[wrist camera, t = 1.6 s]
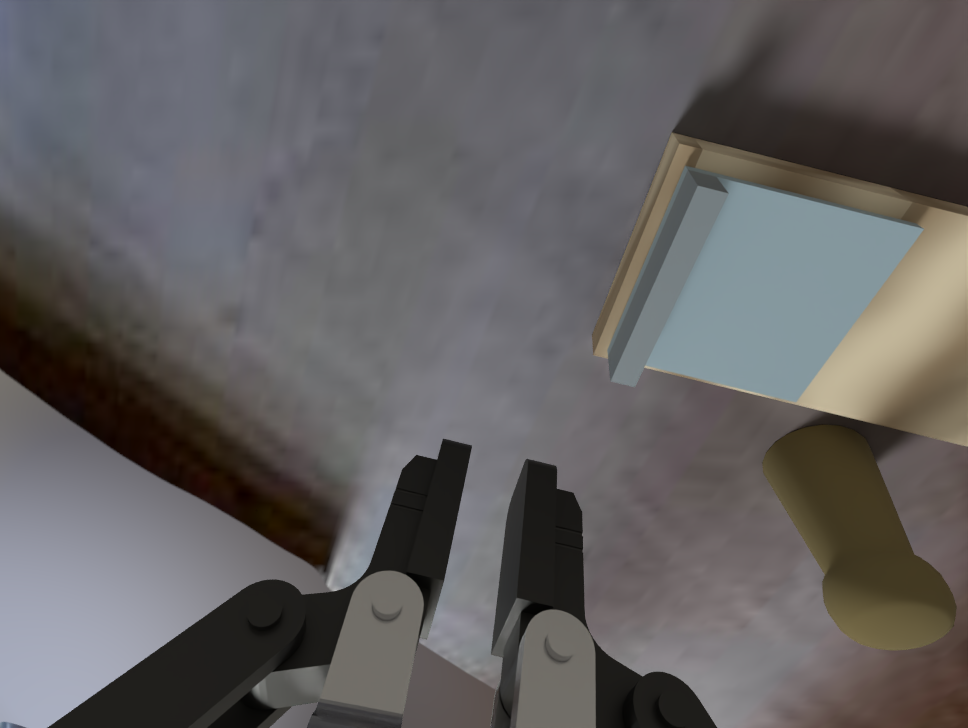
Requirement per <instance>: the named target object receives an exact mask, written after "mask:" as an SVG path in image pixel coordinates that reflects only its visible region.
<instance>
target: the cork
mask: <svg viewBox="0 0 968 728" xmlns="http://www.w3.org/2000/svg"><path fill="white" fill-rule="evenodd" d="M762 464H763V473H764V475H765V476H766V478H767V480H768V481H769V483H770V485H771V486H772V488H773V490H774V491H775V493H776V495H777V496H778V498H779V500H780V501H781V503H782V505H783V506H784V508H785V510H786V511H787V513H788V515H789V516H790V518H791V519H792V521H793V523H794V524H795V526H796V528H797V529H798V531H799V533H800V534H801V536H802V538H803V539H804V541H805V543H806V544H807V546H808V548H809V549H810V551H811V553H812V554H813V556H814V558H815V559H816V561H817V563H818V564H819V566H820V567H821V569H822V571H823V572H824V574H825V576H824V579H823V581H822V585H823V598H824V603H825V606H826V608H827V611H828V613H829V615H830V616H831V617H832V619H833V620H834V622H835V623H836V624H837V626H838V627H839V629H840V630H841V631H842V632H843V633H845V634H846V635H847V636H848V637H850V638H851V639H852V640H854V641H856V642H857V643H859V644H862V645H865V646H869V647H872V648H876V649H884V650H907V649H913V648H918V647H922V646H925V645H928V644H931V643H933V642H935V641H936V640H938V639H940V638H941V637H943V636H944V635H946V634H947V633H948V632H949V631H950V629H951V628H952V627H953V626H954V621H955V616H956V604H955V600H954V597H953V594H952V592H951V590H950V588H949V587H948V585H947V583H946V582H945V580H944V579H943V577H942V576H941V574H940V573H939V572H938V571H937V570H936V569H934V568H933V567H932V566H931V565H930V564H929V563H927V562H926V561H925V560H923V559H922V558H920V557H918V556H916V555H914V553H913V550H912V548H911V545H910V543H909V540H908V538H907V536H906V533H905V531H904V528H903V526H902V524H901V521H900V519H899V516H898V514H897V511H896V509H895V507H894V504H893V502H892V499H891V497H890V495H889V492H888V490H887V487H886V485H885V483H884V480H883V478H882V475H881V473H880V470H879V468H878V466H877V463H876V461H875V458H874V456H873V454H872V451H871V449H870V447H869V445H868V443H867V441H866V439H865V438H864V437H863V436H862V435H860V434H859V433H858V432H856V431H855V430H852V429H849V428H846V427H843V426H839V425H817V426H810V427H805V428H802V429H799V430H797V431H794V432H791V433H789V434H787V435H785V436H784V437H782V438H781V439H779V440H778V441H776V442H775V443H774V444H773V445H772V446H771V448H770V449H769V450H768V451H767V452H766V455H765V457H764V460H763V463H762Z"/></svg>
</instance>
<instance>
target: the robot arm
mask: <svg viewBox="0 0 968 728" xmlns="http://www.w3.org/2000/svg"><path fill="white" fill-rule="evenodd" d="M471 448H472V445H467V444H463V443H459V442H455V441H451V440H447V439H443V441H442V445H441V448H440V452H439V456H438V459H437V460H435V459H431V458H427V457H423V456H419V455H416V456H415V457H414V458H413V459H412V460H411V461H410V462H409V463H408V464H407V465H406V466H405V467H404V468H403V469H402V472H401V475H400V478H399V481H398V484H397V487H396V490H395V493H394V496H393V498H392V501H391V505H390V507H389V510H388V513H387V516H386V519H385V522H384V525H383V528H382V531H381V534H380V537H379V540H378V543H377V545H376V548H375V551H374V554H373V557H372V560H371V563H370V565H369V567H368V569H367V570H366V572H365V573H364V574H363V576H362V577H361V578H360V579H358V580H357V581H356V582H355V583H353V584H352V585H350V586H348V587H346V588H344V589H341V590H338V591H333V592H328V593H327V592H326V593H317V594H306V595H302V594H301V593H300V591H299V590H298V589H297V588H296V587H295V586H293V585H291V584H290V583H287V582H285V581H281V580H264V581H260V582H256V583H254V584H252V585H249V586H248V587H246V588H244V589H243V590H241V591H240V592H239V593H237V594H236V595H234V596H233V597H232V598H230V599H229V600H227V601H226V602H224V603H223V604H222V605H220V606H219V607H217V608H216V609H215V610H213V611H212V612H210V613H209V614H208V615H206V616H205V617H203V618H202V619H201V620H199V621H198V622H196V623H195V624H193V625H192V626H191V627H189V628H188V629H186V630H185V631H184V632H182V633H181V634H179V635H178V636H176V637H175V638H174V639H172V640H171V641H169V642H168V643H167V644H165V645H164V646H162V647H161V648H159V649H158V650H157V651H155V652H154V653H152V654H151V655H150V656H148V657H147V658H145V659H144V660H143V661H141V662H140V663H138V664H137V665H135V666H134V667H133V668H131V669H130V670H128V671H127V672H126V673H124V674H123V675H122V676H120V677H119V678H117V679H116V680H114V681H113V682H111V683H110V684H109V685H107V686H106V687H105V688H103V689H102V690H100V691H99V692H97V693H96V694H95V695H93V696H92V697H90V698H89V699H88V700H86V701H85V702H83V703H82V704H80V705H79V706H78V707H76V708H75V709H73V710H72V711H71V712H69V713H68V714H66V715H65V716H64V717H62V718H61V719H59V720H58V721H56V722H55V723H54V724H52V725H51V726H49V727H48V728H269V727H270V726H271V725H273V724H274V723H275V722H276V721H277V720H278V719H279V718H280V717H281V716H282V715H283V714H284V713H285V712H286V711H287V710H289V709H290V708H291V707H292V706H296V705H302V704H308V703H315V702H318V705H317V708H316V710H315V712H314V713H313V714H312V716H311V718H310V721H309V723H308V726H307V728H401V724H402V718H403V712H404V707H405V702H406V697H407V692H408V687H409V681H410V676H411V671H412V666H413V661H414V657H415V654H416V650H417V646H418V642H419V639H420V638H422V639H427V638H428V635H429V631H430V628H431V624H432V621H433V617H434V614H435V610H436V607H437V603H438V600H439V596H440V593H441V589H442V586H443V582H444V578H445V573H446V569H447V564H448V559H449V554H450V549H451V545H452V540H453V535H454V530H455V525H456V521H457V516H458V511H459V506H460V501H461V497H462V492H463V487H464V482H465V477H466V472H467V468H468V463H469V458H470V453H471ZM582 532H583V529H582V511H581V509H580V507H579V504H578V502H577V500H576V498H575V496H574V493H572V492H568V491H564V490H560V489H557V467H556V466H554V465H550V464H546V463H542V462H538V461H534V460H529V459H526V461H525V463H524V465H523V468H522V471H521V474H520V476H519V479H518V482H517V485H516V487H515V490H514V493H513V496H512V499H511V502H510V506H509V510H508V515H507V521H506V528H505V537H504V546H503V554H502V563H501V572H500V580H499V589H498V598H497V606H496V615H495V624H494V632H493V641H492V649H491V655H494V656H499V657H503V662H502V673H501V680H500V682H499V683H498V686H497V688H496V692H495V697H494V705H493V712H492V719H491V726H490V728H717V727H716V725H715V724H714V722H713V720H712V719H711V717H710V716H709V714H708V713H707V711H706V710H705V708H704V707H703V705H702V703H701V702H700V700H699V699H698V697H697V696H696V695H695V693H694V692H693V691H692V690H691V689H690V688H689V686H688V685H686V684H685V683H684V682H683V681H681V680H680V679H678V678H677V677H675V676H673V675H671V674H668V673H665V672H651V673H648V674H646V675H645V676H643V677H642V676H641V675H639V674H637V673H636V672H634V671H632V670H631V669H629V668H627V667H626V666H624V665H622V664H621V663H619V662H618V661H616V660H614V659H613V658H611V657H610V656H608V655H607V654H606V653H605V652H604V651H603V650H602V649H601V648H600V647H599V646H598V645H597V643H596V642H595V640H594V639H593V637H592V636H591V634H590V632H589V629H588V627H587V624H586V620H585V610H584V569H583V553H582V550H583V536H582Z"/></svg>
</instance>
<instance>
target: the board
mask: <svg viewBox="0 0 968 728" xmlns="http://www.w3.org/2000/svg"><path fill="white" fill-rule="evenodd" d="M685 166H689V167H693V168H697V169H701V170H705V171H709V172H713V173H717V174H721V175H725V176H729V177H733V178H737V179H741V180H745V181H749V182H753V183H757V184H761V185H765V186H769V187H773V188H777V189H781V190H785V191H789V192H793V193H797V194H801V195H805V196H809V197H813V198H817V199H821V200H825V201H828V202H832V203H836V204H840V205H844V206H848V207H852V208H856V209H860V210H864V211H868V212H872V213H876V214H880V215H884V216H888V217H892V218H896V219H900V220H904V221H908V222H912V223H916V224H918V225H919V226H921V227H922V228H924V230H923V231H922V233H921V234H920V235H919V237H918V238H917V239H916V241H915V242H914V244H913V245H912V246H911V248H910V249H909V250H908V252H907V253H906V254H905V256H904V257H903V258H902V260H901V261H900V262H899V264H898V265H897V267H896V268H895V269H894V271H893V272H892V273H891V275H890V276H889V277H888V279H887V280H886V281H885V283H884V284H883V285H882V287H881V288H880V290H879V291H878V292H877V294H876V295H875V296H874V298H873V299H872V300H871V302H870V303H869V304H868V306H867V307H866V308H865V310H864V311H863V313H862V314H861V315H860V317H859V318H858V319H857V321H856V322H855V323H854V325H853V326H852V327H851V329H850V330H849V331H848V333H847V334H846V336H845V337H844V338H843V340H842V341H841V342H840V344H839V345H838V346H837V348H836V349H835V350H834V352H833V353H832V354H831V356H830V357H829V359H828V360H827V361H826V363H825V364H824V365H823V367H822V368H821V369H820V371H819V372H818V373H817V375H816V376H815V377H814V379H813V380H812V382H811V383H810V384H809V386H808V387H807V388H806V390H805V391H804V392H803V394H802V395H801V396H800V398H799V399H798V400H797V402H792V401H788V400H784V399H780V398H776V397H772V396H767V395H763V394H759V393H755V392H751V391H747V390H743V389H739V388H735V387H731V386H727V385H723V384H718V383H714V382H710V381H706V380H702V379H698V378H694V377H690V376H686V375H682V374H678V373H674V372H669V371H665V370H661V369H657V368H653V367H649V366H645V367H644V368H649V369H653V370H657V371H661V372H665V373H669V374H673V375H677V376H681V377H685V378H689V379H694V380H698V381H702V382H706V383H710V384H714V385H718V386H722V387H726V388H730V389H734V390H738V391H743V392H747V393H751V394H755V395H759V396H763V397H767V398H771V399H775V400H779V401H783V402H787V403H792V404H796V405H800V406H804V407H808V408H812V409H816V410H820V411H824V412H828V413H832V414H837V415H841V416H845V417H849V418H853V419H857V420H861V421H865V422H869V423H873V424H877V425H881V426H886V427H890V428H894V429H898V430H902V431H906V432H910V433H914V434H918V435H922V436H926V437H931V438H935V439H939V440H943V441H947V442H951V443H955V444H959V445H963V446H967V447H968V207H966V206H962V205H958V204H954V203H950V202H946V201H942V200H938V199H934V198H930V197H926V196H922V195H919V194H915V193H911V192H907V191H903V190H899V189H895V188H891V187H887V186H883V185H879V184H875V183H871V182H867V181H863V180H859V179H855V178H851V177H847V176H843V175H839V174H835V173H831V172H827V171H823V170H819V169H815V168H811V167H807V166H803V165H799V164H796V163H792V162H788V161H784V160H780V159H776V158H772V157H768V156H764V155H760V154H756V153H752V152H748V151H744V150H740V149H736V148H732V147H728V146H724V145H720V144H716V143H712V142H708V141H704V140H700V139H696V138H692V137H688V136H684V135H680V134H676V133H673V132H672V133H671V136H670V138H669V141H668V143H667V146H666V148H665V151H664V154H663V156H662V159H661V161H660V164H659V166H658V169H657V171H656V174H655V176H654V179H653V181H652V184H651V187H650V189H649V192H648V194H647V197H646V199H645V202H644V204H643V207H642V209H641V212H640V215H639V217H638V220H637V222H636V225H635V227H634V230H633V232H632V235H631V237H630V240H629V243H628V245H627V248H626V250H625V253H624V255H623V258H622V260H621V263H620V265H619V268H618V271H617V273H616V276H615V278H614V281H613V283H612V286H611V288H610V291H609V293H608V296H607V298H606V301H605V304H604V306H603V309H602V311H601V314H600V316H599V319H598V321H597V324H596V326H595V329H594V332H593V334H592V340H593V355H595V356H600V357H604V358H608V352H607V349H608V347H609V345H610V342H611V340H612V338H613V335H614V333H615V331H616V328H617V326H618V323H619V321H620V319H621V316H622V314H623V312H624V309H625V307H626V304H627V302H628V300H629V297H630V295H631V293H632V290H633V288H634V286H635V283H636V281H637V278H638V276H639V274H640V271H641V269H642V267H643V264H644V262H645V259H646V257H647V255H648V252H649V250H650V248H651V245H652V243H653V241H654V238H655V236H656V233H657V231H658V229H659V226H660V224H661V222H662V219H663V217H664V215H665V212H666V210H667V207H668V205H669V203H670V200H671V198H672V196H673V193H674V191H675V188H676V186H677V184H678V181H679V179H680V177H681V174H682V172H683V170H684V167H685Z"/></svg>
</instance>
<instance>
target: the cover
mask: <svg viewBox="0 0 968 728" xmlns="http://www.w3.org/2000/svg"><path fill="white" fill-rule="evenodd" d="M923 230H924V228H922V227H921V226H919V225H918V224H916V223H912V222H908V221H904V220H900V219H896V218H892V217H888V216H884V215H880V214H876V213H872V212H868V211H864V210H860V209H856V208H852V207H848V206H844V205H840V204H836V203H832V202H828V201H825V200H821V199H817V198H813V197H809V196H805V195H801V194H797V193H793V192H789V191H785V190H781V189H777V188H773V187H769V186H765V185H761V184H757V183H753V182H749V181H745V180H741V179H737V178H733V177H729V176H725V175H721V174H717V173H713V172H709V171H705V170H701V169H697V168H693V167H689V166H685V167H684V170H683V172H682V174H681V177H680V179H679V181H678V184H677V186H676V188H675V191H674V193H673V196H672V198H671V200H670V203H669V205H668V207H667V210H666V212H665V215H664V217H663V219H662V222H661V224H660V226H659V229H658V231H657V233H656V236H655V238H654V241H653V243H652V245H651V248H650V250H649V252H648V255H647V257H646V259H645V262H644V264H643V267H642V269H641V271H640V274H639V276H638V278H637V281H636V283H635V286H634V288H633V290H632V293H631V295H630V297H629V300H628V302H627V304H626V307H625V309H624V312H623V314H622V316H621V319H620V321H619V323H618V326H617V328H616V331H615V333H614V335H613V338H612V340H611V342H610V345H609V347H608V349H607V352H608V362H609V371H610V381H612V382H616V383H620V384H624V385H628V386H632V387H635V386H636V383H637V381H638V379H639V377H640V375H641V373H642V371H643V369H644V367H645V366H649V367H653V368H657V369H661V370H665V371H669V372H674V373H678V374H682V375H686V376H690V377H694V378H698V379H702V380H706V381H710V382H714V383H718V384H723V385H727V386H731V387H735V388H739V389H743V390H747V391H751V392H755V393H759V394H763V395H767V396H772V397H776V398H780V399H784V400H788V401H792V402H797V400H798V399H799V398H800V396H801V395H802V394H803V392H804V391H805V390H806V388H807V387H808V386H809V384H810V383H811V382H812V380H813V379H814V377H815V376H816V375H817V373H818V372H819V371H820V369H821V368H822V367H823V365H824V364H825V363H826V361H827V360H828V359H829V357H830V356H831V354H832V353H833V352H834V350H835V349H836V348H837V346H838V345H839V344H840V342H841V341H842V340H843V338H844V337H845V336H846V334H847V333H848V331H849V330H850V329H851V327H852V326H853V325H854V323H855V322H856V321H857V319H858V318H859V317H860V315H861V314H862V313H863V311H864V310H865V308H866V307H867V306H868V304H869V303H870V302H871V300H872V299H873V298H874V296H875V295H876V294H877V292H878V291H879V290H880V288H881V287H882V285H883V284H884V283H885V281H886V280H887V279H888V277H889V276H890V275H891V273H892V272H893V271H894V269H895V268H896V267H897V265H898V264H899V262H900V261H901V260H902V258H903V257H904V256H905V254H906V253H907V252H908V250H909V249H910V248H911V246H912V245H913V244H914V242H915V241H916V239H917V238H918V237H919V235H920V234H921V233H922V231H923Z"/></svg>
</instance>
